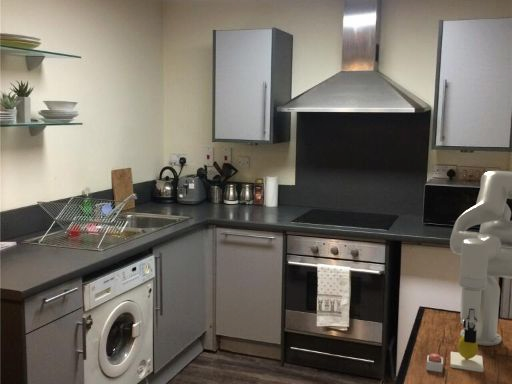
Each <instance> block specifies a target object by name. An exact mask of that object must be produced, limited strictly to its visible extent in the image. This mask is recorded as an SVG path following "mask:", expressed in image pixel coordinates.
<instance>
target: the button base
mask: <svg viewBox="0 0 512 384" xmlns="http://www.w3.org/2000/svg"><path fill="white" fill-rule="evenodd" d="M426 358H427V359H426V371H431V372H438V373H443V370H444V369H443V367H444V357H442V356H440V362H439V363H437V362H431V361H430V355H429V354H428V355H427V357H426Z"/></svg>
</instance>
